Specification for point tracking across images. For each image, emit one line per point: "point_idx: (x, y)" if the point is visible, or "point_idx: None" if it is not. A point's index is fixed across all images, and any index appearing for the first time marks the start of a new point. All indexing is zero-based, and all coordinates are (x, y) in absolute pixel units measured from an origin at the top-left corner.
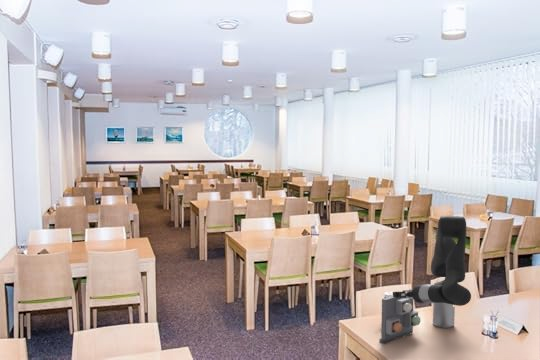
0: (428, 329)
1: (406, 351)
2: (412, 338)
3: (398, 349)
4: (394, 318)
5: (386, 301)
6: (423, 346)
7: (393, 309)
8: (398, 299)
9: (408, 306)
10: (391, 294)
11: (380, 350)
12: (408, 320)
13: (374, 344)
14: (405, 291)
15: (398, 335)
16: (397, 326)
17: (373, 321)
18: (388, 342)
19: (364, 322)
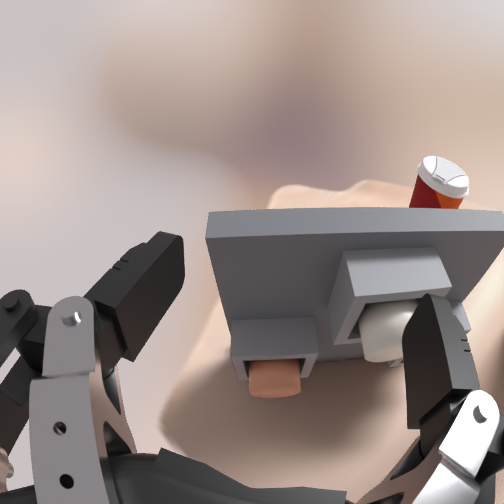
0: (478, 351)
1: (249, 461)
2: (380, 388)
3: (239, 430)
4: (287, 337)
5: (219, 247)
6: (353, 466)
7: (308, 292)
8: (369, 254)
9: (394, 344)
10: (442, 173)
11: (176, 389)
12: None
13: (206, 344)
14: (44, 441)
15: (333, 357)
16: (256, 390)
17: None
18: None
19: None
